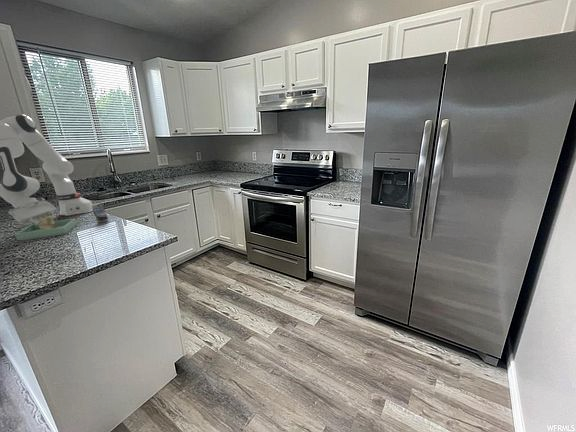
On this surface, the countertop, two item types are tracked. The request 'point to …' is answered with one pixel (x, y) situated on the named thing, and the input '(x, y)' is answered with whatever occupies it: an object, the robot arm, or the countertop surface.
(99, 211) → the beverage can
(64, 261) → the countertop surface
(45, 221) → the maple block
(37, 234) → the tray
